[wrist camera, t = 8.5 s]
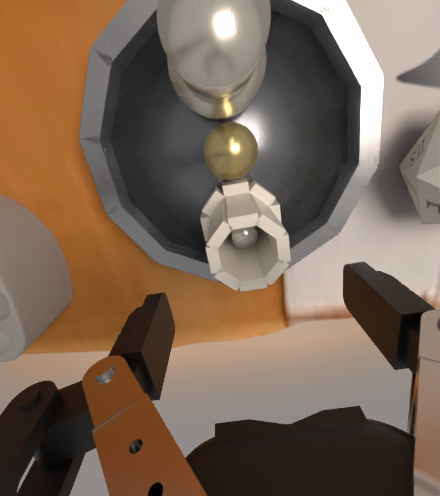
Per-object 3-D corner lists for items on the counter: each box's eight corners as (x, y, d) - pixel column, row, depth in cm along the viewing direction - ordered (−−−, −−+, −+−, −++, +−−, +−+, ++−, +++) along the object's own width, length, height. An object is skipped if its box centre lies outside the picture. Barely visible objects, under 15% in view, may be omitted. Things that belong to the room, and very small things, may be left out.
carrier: (145, 277, 26) (108, 343, 18) (59, 23, 18) (-83, -80, 10) (355, 244, 24) (425, 299, 16) (362, -51, 17) (510, -255, 8)
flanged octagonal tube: (196, 187, 21) (182, 212, 14) (272, 173, 21) (300, 190, 13) (211, 255, 24) (206, 307, 16) (279, 244, 23) (306, 292, 16)
